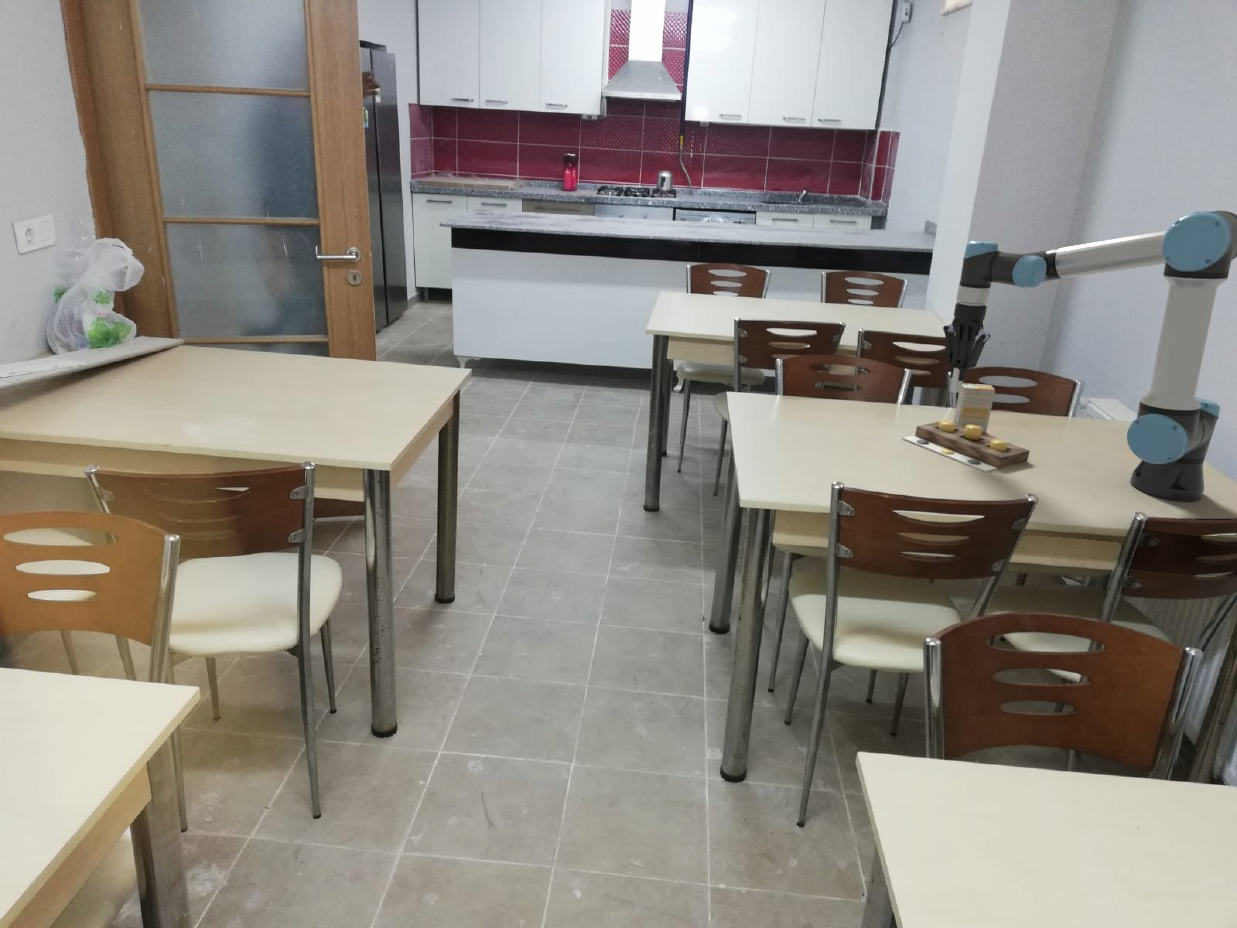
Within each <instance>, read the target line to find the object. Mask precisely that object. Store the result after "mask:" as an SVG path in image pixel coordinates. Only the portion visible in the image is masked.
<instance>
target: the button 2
mask: <svg viewBox="0 0 1237 928" xmlns="http://www.w3.org/2000/svg"><path fill="white" fill-rule="evenodd" d="M997 439H998V438H996V439H994V440H991V444H990V448H991V449H993V450H996V451H999V452H1004V451H1006V450H1007V445H1008V443H1009V442H1008V441H1005V440H1002V439H999V440H997Z"/></svg>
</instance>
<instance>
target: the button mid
mask: <svg viewBox="0 0 1237 928" xmlns="http://www.w3.org/2000/svg"><path fill="white" fill-rule="evenodd" d="M981 431H982V428H981V427H980V426H976V425H966V428H965V433H964V437H965V438H968V439H972V440H979V439H980V436H981Z"/></svg>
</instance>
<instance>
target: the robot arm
mask: <svg viewBox="0 0 1237 928" xmlns="http://www.w3.org/2000/svg"><path fill="white" fill-rule="evenodd" d="M1236 258H1237V213H1236V214H1235V213H1234V212H1230V211H1226V210H1213V211H1209V210H1208V211H1207V210H1204V211H1196V212H1192V213H1190V214H1186V215H1185V216H1182V217H1181V218H1179V219H1177V220H1176V221H1174V222H1173V223H1172V224H1171V225H1170V226H1169V227H1168V229H1163V230H1157V231H1151V232H1146V233H1140V234H1133V235H1129V236H1123V237H1118V238H1117V237H1116V238H1112V239H1105V240H1100V241H1095V242H1094V241H1093V242H1088V243H1083V244H1077V245H1072V246H1071V245H1070V246H1065V247H1060V248H1054V249H1049V250H1042V251H1041V250H1040V251H1036V252H1035V251H1034V252H1026V253H1024V252H1023V253H1015V252H1014V253H1013V252H1012V253H1011V252H1004V251H999V243H998V242H995V241H990V240H989V241H988V240H970V241H969V242H968V243H967V244H966V246H965V252H964V256H963V258H962V260H963V261H962V267H961V268H962V269H961V275H960V280H959V284H958V288H957V295H956V301H957V302H956V303H955V304H954V305H955V306H954V312H953V315H954V319H952V321H951V323H950V324H948V325H944V326H943V327H942V329H943V332H944V335H945V336H944V339H945V340H944V341H945V363H947V364H950V366H951V370H950V375H949V376H950V379H951V383H950V387H949V388H950V389H949V392H950V393H953V394H957V393H958V394H959V392H961V389H962V384H963V383H964V382H965V381H966V380H967V374H968V370H969V369H973V368H975V367H977V364H978V362H979V359H980V357H981V354H982V352H983V349H984V347H985V345H986V343H987V341H988V340H989V339H990V338H991V334H990V333H987V332H986V331H985V330H984V323H983V322H984V320H985V318H986V313H987V305H986V304H987V303H988V302H989V299H990V298H989V297H990V291H991V286H992V283H995V284H996V283H997V284H1003V285H1010V286H1014V287H1019V288H1030V289H1031V288H1032V289H1034V288H1037V287H1039V286H1040V284H1042V283H1043V282H1050V281H1055V280H1062V279H1069V278H1075V277H1081V276H1088V275H1096V274H1101V273H1102V274H1103V273H1110V272H1117V271H1124V270H1129V269H1131V270H1132V269H1137V268H1143V267H1150V266H1158V265H1164V270H1163V273H1162V277H1163V279H1165V281H1166V282H1167V283H1168V284H1169V288H1168V293H1167V298H1166V302H1165V308H1164V313H1163V318H1162V324H1161V329H1160V333H1159V334H1160V336H1159V341H1158V343H1157V350H1156V356H1155V361H1154V365H1153V366H1154V367H1153V372H1152V377H1151V383H1150V388H1149V392H1148V393H1147V394H1146V395H1144V396H1143V397H1141V398H1140V400H1139V405H1138V410H1137V414H1136V418H1135V419H1134V420H1133V421H1132V422H1131V424H1130V425H1129V427H1128V429H1127V432H1126V440H1127V441H1126V442H1127V445H1128V448H1130V449H1129V450H1130V451H1131V452H1132V453H1133V454H1134V455H1135V456H1136V457H1137V458H1138V459H1140V462H1139V463H1138V465H1136V467H1135V469H1134V470H1133V471H1132V473H1131V477H1130V480H1129V483H1130V485H1131V486H1132V487H1133V488H1135V489H1137V490H1139V491H1140V492H1143V493H1147V494H1148V495H1151V496H1155V497H1158V498H1162V499H1167V500H1172V501H1178V502H1179V501H1180V502H1193V501H1194V502H1195V501H1198V500H1200V499H1202V497H1203V495H1204V491H1205V480H1204V479H1205V477H1204V468H1203V467H1204V462H1205V459H1206V456H1207V453H1208V450H1209V447H1210V443H1211V441H1212V437H1213V434H1214V431H1215V428H1216V425H1217V421H1218V420H1219V418H1220V415H1219V414H1220V411H1221V407H1220V405H1219V404H1218V403H1217V402H1214V401H1212V400H1208V399H1205V398H1201V397H1196V392H1197V387H1198V383H1199V377H1200V373H1201V367H1202V364H1203V363H1202V362H1203V357H1204V352H1205V349H1206V348H1205V347H1206V345H1207V338H1208V334H1209V328H1210V324H1211V319H1212V313H1213V309H1214V303H1215V300H1216V294H1217V288H1218V287H1219V286H1220V285H1221V284H1222V283H1225V282H1226V281H1227V280H1228V279H1229V273H1230V269H1231V266H1232V265H1231V264H1232V261H1233V260H1235V259H1236Z"/></svg>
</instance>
